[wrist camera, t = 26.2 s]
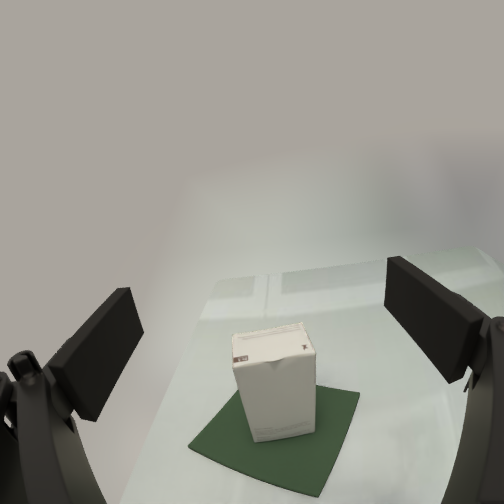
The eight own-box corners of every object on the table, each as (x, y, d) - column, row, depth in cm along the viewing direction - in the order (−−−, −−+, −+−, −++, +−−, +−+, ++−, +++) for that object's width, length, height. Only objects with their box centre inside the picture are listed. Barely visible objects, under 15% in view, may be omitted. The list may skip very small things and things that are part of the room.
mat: (188, 447, 29) (187, 445, 28) (254, 372, 43) (253, 370, 43) (318, 497, 20) (318, 496, 20) (359, 395, 34) (360, 392, 34)
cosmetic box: (306, 404, 34) (305, 319, 30) (316, 435, 28) (320, 350, 24) (247, 413, 34) (231, 329, 30) (250, 445, 28) (231, 364, 24)
